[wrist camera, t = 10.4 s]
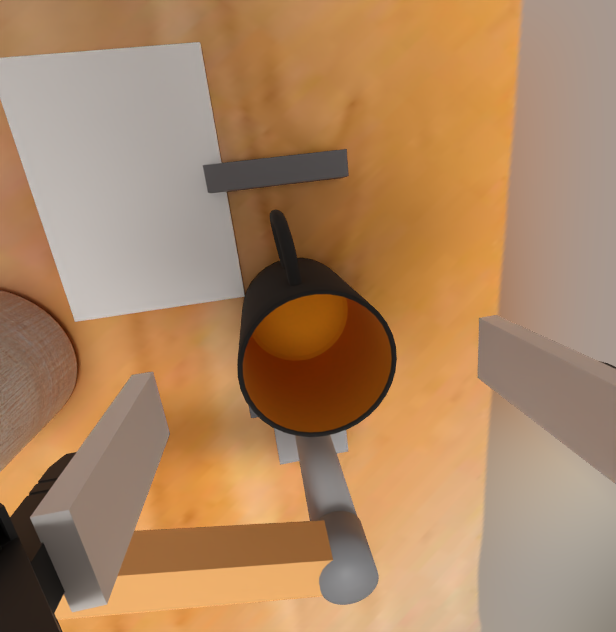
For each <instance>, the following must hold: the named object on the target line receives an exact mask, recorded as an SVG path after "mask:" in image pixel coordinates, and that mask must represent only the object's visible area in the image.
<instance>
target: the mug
mask: <svg viewBox="0 0 616 632" xmlns="http://www.w3.org/2000/svg"><path fill="white" fill-rule="evenodd" d="M270 222H271V227H272V231H273V235H274V239H275V243H276V247H277V251H278V255H279V258H280V261H278V262H275V263H273V264H272V265H270V266H268V267H266V268H265V269H264V270H263V271H261V272H260V273H259V274H258V275H257V276H256V277H255V279H254V280H253V281H252V282H251V284H250V286H249V288H248V289H247V292H246V295H245V298H244V303H243V309H242V319H241V330H240V340H239V351H238V380H239V384H240V389H241V391H242V394H243V396H244V398H245V400H246V402H247V403H248V405H249V406H250V408H251V409H252V411H253V412H254V413H255V414H256V415H257V416H258V417H259V418H260V419H261V420H262V421H264V422H265V423H267V424H268V425H270V426H271V427H273V428H275V429H277V430H280V431H282V432H284V433H288V434H292V435H295V436H303V437H320V436H327V435H332V434H336V433H339V432H341V431H344V430H347V429H349V428H351V427H353V426H354V425H356V424H358V423H360V422H361V421H362V420H364V419H365V418H366V417H368V416H369V415H370V414H371V413H372V412H373V411H374V410H375V409H376V408H377V407H378V406H379V404H380V403H381V402H382V400H383V399H384V397H385V396H386V394H387V392H388V390H389V388H390V386H391V384H392V381H393V377H394V374H395V369H396V360H397V357H396V346H395V342H394V338H393V334H392V332H391V330H390V328H389V326H388V324H387V322H386V321H385V320H384V318H383V317H382V316H381V314H380V313H379V312H378V311H377V310H376V309H375V308H374V307H373V306H372V305H370V304H369V303H368V302H367V301H366V300H365V299H364V298H363V297H361V296H360V295H359V294H358V293H357V292H356V291H355V290H354V289H352V288H351V287H350V286H349V285H348V284H347V283H346V282H345V281H343V280H342V279H341V278H340V277H339V276H338V275H337V274H336V273H334V272H333V271H332V270H331V269H330V268H328V267H327V266H325V265H323V264H322V263H319V262H317V261H314V260H311V259H305V258H297V255H296V251H295V247H294V243H293V239H292V236H291V233H290V229H289V226H288V224H287V221H286V218H285V216H284V215H283V213H282V212H280V211H279V210H272V211H271V213H270Z"/></svg>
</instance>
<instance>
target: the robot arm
mask: <svg viewBox="0 0 616 632" xmlns="http://www.w3.org/2000/svg"><path fill="white" fill-rule="evenodd" d="M478 378H479V379H480V380H481V381H483V382H484V383H485V384H486V385H488V386H489V387H490V388H492V389H493V390H494V391H496V392H497V393H498V394H499V395H501V396H502V397H503V398H505V399H506V400H507V401H509V402H510V403H511V404H513V405H514V406H515V407H516V408H518V409H519V410H520V411H521V412H523V413H524V414H526V415H527V416H528V417H529V418H531V419H532V420H533V421H534V422H536V423H537V424H538V425H540V426H541V427H542V428H544V429H545V430H546V431H548V432H549V433H550V434H551V435H553V436H554V437H555V438H557V439H558V440H559V441H560V442H562V443H563V444H564V445H566V446H567V447H568V448H570V449H571V450H572V451H574V452H575V453H576V454H578V455H579V456H580V457H581V458H583V459H584V460H585V461H586V462H588V463H589V464H590V465H592V466H593V467H594V468H595V469H597V470H598V471H599V472H601V473H602V474H603V475H605V476H606V477H607V478H609V479H610V480H611V481H612V482H614V483H615V484H616V367H614V366H612V365H610V364H608V363H604V362H600V361H597V360H595V359H593V358H590V357H588V356H586V355H584V354H581V353H579V352H577V351H575V350H572V349H570V348H568V347H566V346H564V345H561V344H559V343H557V342H555V341H553V340H550V339H548V338H546V337H544V336H542V335H539V334H537V333H535V332H533V331H530V330H528V329H526V328H524V327H522V326H520V325H517V324H515V323H513V322H511V321H509V320H506V319H504V318H502V317H500V316H497V315H494V316H488V317H482V318H479V347H478ZM169 435H170V432H169V428H168V425H167V421H166V417H165V414H164V410H163V406H162V403H161V399H160V395H159V392H158V388H157V384H156V381H155V377H154V373H153V372H147V373H141V374H135V375H132V376H131V377H130V379H129V380H128V381H127V383H126V384H125V386H124V387H123V388H122V390H121V391H120V393H119V394H118V395H117V397H116V398H115V399H114V401H113V402H112V404H111V405H110V406H109V408H108V409H107V411H106V412H105V413H104V415H103V416H102V418H101V419H100V420H99V422H98V423H97V425H96V426H95V427H94V429H93V430H92V432H91V433H90V434H89V436H88V437H87V438H86V440H85V441H84V443H83V444H82V445H81V447H80V448H79V450H78V451H77V452H75V453H69V454H66V455H64V456H63V457H62V458H60V459H59V460H58V461H57V462H55V463H54V464H53V465H52V466H50V467H49V468H48V470H47V471H46V472H45V474H44V475H43V476H42V477H41V479H40V480H39V481H38V482H39V483H38V484H36V485H35V486H34V488H33V489H32V490H31V491H30V493H29V496H27V497H26V498H25V499H24V500H23V502H22V503H21V504H20V506H19V507H18V508H17V509H16V511H15V512H14V513H13V515H12V516H11V517H9V515H8V513H7V511H6V509H5V506H4V505H2V504H1V503H0V632H62V629H61V627H60V625H59V623H58V620H57V618H56V616H55V614H54V613H55V611H56V609H57V607H58V605H59V603H60V601H61V599H62V597H63V595H64V596H65V598H66V600H67V602H68V605H69V607H70V609H71V611H72V612H76V611H81V610H85V609H90V608H94V607H98V606H103V605H107V603H108V600H109V598H110V595H111V592H112V590H113V587H114V584H115V581H116V579H117V576H118V573H119V571H120V568H121V565H122V562H123V560H124V557H125V554H126V552H127V549H128V546H129V543H130V541H131V538H132V535H133V533H134V530H135V527H136V524H137V522H138V519H139V516H140V514H141V511H142V508H143V505H144V503H145V500H146V497H147V495H148V492H149V489H150V486H151V484H152V481H153V478H154V475H155V473H156V470H157V467H158V465H159V462H160V459H161V456H162V454H163V451H164V448H165V446H166V443H167V440H168V437H169Z"/></svg>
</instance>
